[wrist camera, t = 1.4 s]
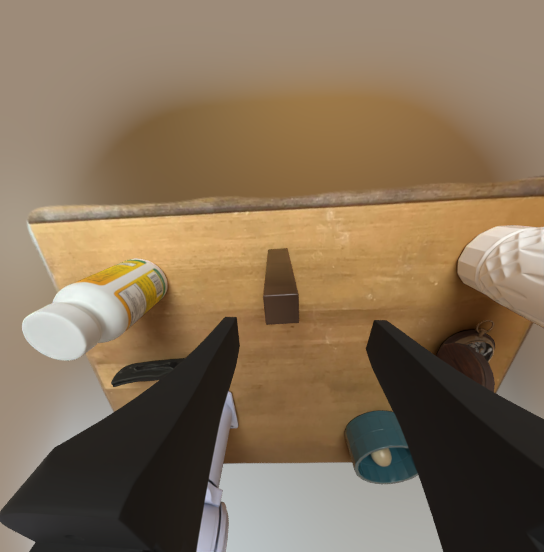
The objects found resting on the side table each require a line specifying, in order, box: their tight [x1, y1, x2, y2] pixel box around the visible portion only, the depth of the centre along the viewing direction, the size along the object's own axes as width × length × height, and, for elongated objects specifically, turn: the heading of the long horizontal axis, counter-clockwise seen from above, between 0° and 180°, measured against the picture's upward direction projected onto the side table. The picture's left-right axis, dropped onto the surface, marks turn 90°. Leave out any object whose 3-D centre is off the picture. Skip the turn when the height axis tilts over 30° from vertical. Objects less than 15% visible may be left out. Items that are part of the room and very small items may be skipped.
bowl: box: [345, 411, 418, 484], centre depth 30 cm, size 10×10×4 cm
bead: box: [371, 448, 392, 467], centre depth 30 cm, size 3×3×3 cm
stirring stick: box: [263, 248, 299, 325], centre depth 16 cm, size 2×2×10 cm
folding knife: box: [111, 358, 185, 387], centre depth 25 cm, size 10×1×3 cm, turn 99°
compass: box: [437, 320, 495, 392], centre depth 21 cm, size 8×8×7 cm
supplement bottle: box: [22, 259, 167, 361], centre depth 17 cm, size 5×5×10 cm
